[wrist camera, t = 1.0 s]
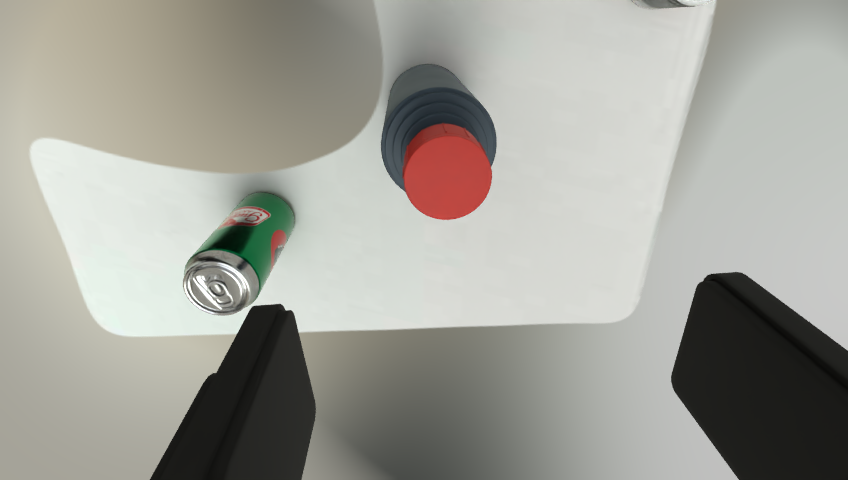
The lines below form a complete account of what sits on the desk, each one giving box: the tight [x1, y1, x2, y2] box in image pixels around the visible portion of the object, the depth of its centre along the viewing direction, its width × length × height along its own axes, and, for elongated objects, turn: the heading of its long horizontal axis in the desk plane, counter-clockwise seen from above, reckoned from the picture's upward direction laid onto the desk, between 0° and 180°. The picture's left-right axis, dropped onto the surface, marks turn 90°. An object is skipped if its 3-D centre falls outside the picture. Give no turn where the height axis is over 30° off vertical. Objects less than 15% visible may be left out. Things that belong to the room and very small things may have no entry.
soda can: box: [183, 192, 294, 315], centre depth 34 cm, size 5×5×12 cm
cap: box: [402, 123, 492, 220], centre depth 20 cm, size 4×4×2 cm
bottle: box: [381, 64, 496, 192], centre depth 27 cm, size 6×6×18 cm
